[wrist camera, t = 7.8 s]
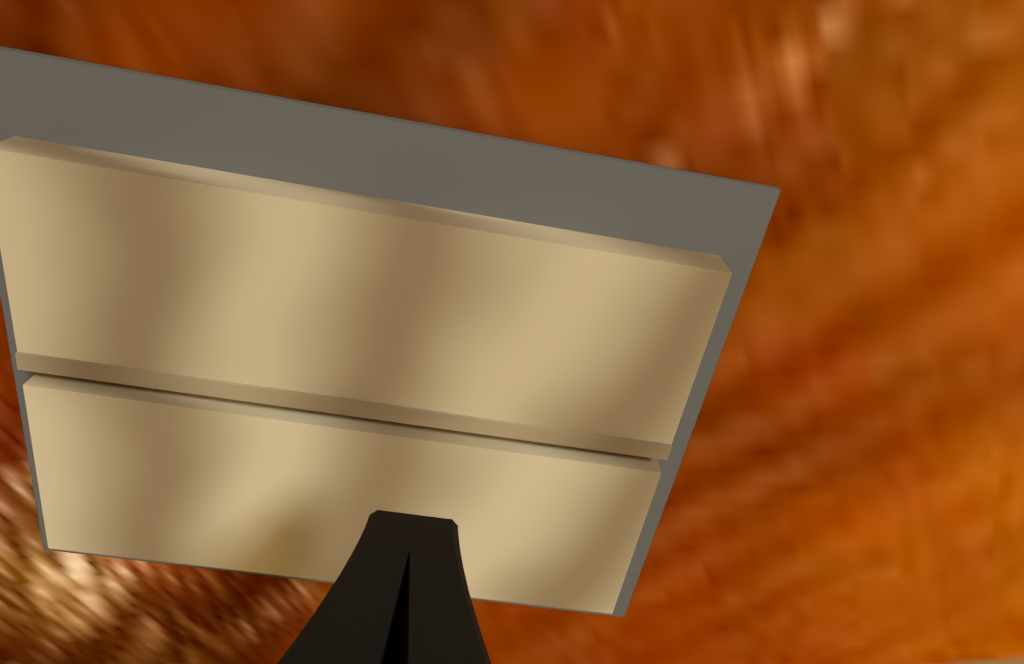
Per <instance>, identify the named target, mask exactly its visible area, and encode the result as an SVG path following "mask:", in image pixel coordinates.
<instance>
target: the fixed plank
mask: <svg viewBox="0 0 1024 664" xmlns="http://www.w3.org/2000/svg"><path fill="white" fill-rule="evenodd" d="M0 250H1V256H2V262H3V268H4V274H5V280H6V286H7V293H8V299H9V305H10V311H11V317H12V323H13V329H14V335H15V341H16V347H17V352H16V353H15V357H16V363H17V369H18V370H24V371H31V372H38V373H46V374H53V375H60V376H67V377H74V378H81V379H89V380H96V381H103V382H110V383H117V384H124V385H132V386H139V387H146V388H153V389H160V390H167V391H175V392H182V393H189V394H196V395H203V396H210V397H218V398H225V399H232V400H239V401H246V402H253V403H261V404H268V405H275V406H282V407H289V408H296V409H304V410H311V411H318V412H325V413H332V414H339V415H347V416H354V417H361V418H368V419H375V420H382V421H390V422H397V423H404V424H411V425H418V426H425V427H433V428H440V429H447V430H454V431H461V432H468V433H476V434H483V435H490V436H497V437H504V438H511V439H519V440H526V441H533V442H540V443H547V444H554V445H562V446H569V447H576V448H583V449H590V450H597V451H605V452H612V453H619V454H626V455H633V456H640V457H648V458H655V459H662V460H668V457H669V454H670V452H671V449H672V442H673V439H674V436H675V433H676V430H677V428H678V425H679V422H680V419H681V416H682V414H683V411H684V408H685V405H686V402H687V399H688V397H689V394H690V391H691V388H692V385H693V383H694V380H695V377H696V374H697V371H698V368H699V366H700V363H701V360H702V357H703V354H704V352H705V349H706V346H707V343H708V340H709V337H710V335H711V332H712V329H713V326H714V323H715V321H716V318H717V315H718V312H719V309H720V306H721V304H722V301H723V298H724V295H725V292H726V290H727V287H728V284H729V281H730V278H731V275H732V272H731V271H730V269H729V268H728V267H727V265H726V264H725V263H724V261H723V260H722V259H721V257H720V256H718V255H712V254H706V253H701V252H695V251H689V250H683V249H677V248H671V247H665V246H659V245H654V244H648V243H642V242H636V241H630V240H624V239H618V238H612V237H607V236H601V235H595V234H589V233H583V232H577V231H571V230H565V229H560V228H554V227H548V226H542V225H536V224H530V223H524V222H518V221H513V220H507V219H501V218H495V217H489V216H483V215H477V214H471V213H466V212H460V211H454V210H448V209H442V208H436V207H430V206H424V205H419V204H413V203H407V202H401V201H395V200H389V199H383V198H377V197H371V196H366V195H360V194H354V193H348V192H342V191H336V190H330V189H324V188H319V187H313V186H307V185H301V184H295V183H289V182H283V181H277V180H272V179H266V178H260V177H254V176H248V175H242V174H236V173H230V172H225V171H219V170H213V169H207V168H201V167H195V166H189V165H183V164H178V163H172V162H166V161H160V160H154V159H148V158H142V157H136V156H131V155H125V154H119V153H113V152H107V151H101V150H95V149H89V148H84V147H78V146H72V145H66V144H60V143H54V142H48V141H42V140H37V139H31V138H25V137H19V136H14V137H11V138H8V139H6V140H3V141H0Z"/></svg>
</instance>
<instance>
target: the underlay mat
mask: <svg viewBox="0 0 1024 664" xmlns="http://www.w3.org/2000/svg"><path fill="white" fill-rule="evenodd" d="M14 136H19V137H25V138H31V139H37V140H42V141H48V142H54V143H60V144H66V145H72V146H78V147H84V148H89V149H95V150H101V151H107V152H113V153H119V154H125V155H131V156H136V157H142V158H148V159H154V160H160V161H166V162H172V163H178V164H183V165H189V166H195V167H201V168H207V169H213V170H219V171H225V172H230V173H236V174H242V175H248V176H254V177H260V178H266V179H272V180H277V181H283V182H289V183H295V184H301V185H307V186H313V187H319V188H324V189H330V190H336V191H342V192H348V193H354V194H360V195H366V196H371V197H377V198H383V199H389V200H395V201H401V202H407V203H413V204H419V205H424V206H430V207H436V208H442V209H448V210H454V211H460V212H466V213H471V214H477V215H483V216H489V217H495V218H501V219H507V220H513V221H518V222H524V223H530V224H536V225H542V226H548V227H554V228H560V229H565V230H571V231H577V232H583V233H589V234H595V235H601V236H607V237H612V238H618V239H624V240H630V241H636V242H642V243H648V244H654V245H659V246H665V247H671V248H677V249H683V250H689V251H695V252H701V253H706V254H712V255H718V256H720V257H721V259H722V260H723V261H724V263H725V264H726V265H727V267H728V268H729V269H730V271H731V272H732V275H731V278H730V281H729V284H728V287H727V290H726V292H725V295H724V298H723V301H722V304H721V306H720V309H719V312H718V315H717V318H716V321H715V323H714V326H713V329H712V332H711V335H710V337H709V340H708V343H707V346H706V349H705V352H704V354H703V357H702V360H701V363H700V366H699V368H698V371H697V374H696V377H695V380H694V383H693V385H692V388H691V391H690V394H689V397H688V399H687V402H686V405H685V408H684V411H683V414H682V416H681V419H680V422H679V425H678V428H677V430H676V433H675V436H674V439H673V442H672V449H671V452H670V454H669V457H668V460H662V459H657V460H658V464H659V467H660V470H661V476H660V479H659V481H658V484H657V487H656V490H655V493H654V496H653V499H652V501H651V504H650V507H649V510H648V513H647V516H646V519H645V522H644V524H643V527H642V530H641V533H640V536H639V539H638V542H637V544H636V547H635V550H634V553H633V556H632V559H631V562H630V565H629V567H628V570H627V573H626V576H625V579H624V582H623V585H622V587H621V590H620V593H619V596H618V599H617V602H616V605H615V607H614V610H613V613H612V614H608V613H599V612H591V611H582V610H574V609H565V608H556V607H548V606H539V605H531V604H522V603H514V602H505V601H496V600H488V599H479V598H471V599H474V600H483V601H491V602H500V603H508V604H517V605H526V606H534V607H543V608H551V609H560V610H569V611H577V612H586V613H594V614H603V615H612V616H620V617H624V615H625V613H626V610H627V607H628V605H629V602H630V599H631V596H632V594H633V591H634V588H635V586H636V583H637V580H638V577H639V575H640V572H641V569H642V566H643V564H644V561H645V558H646V556H647V553H648V550H649V547H650V545H651V542H652V539H653V537H654V534H655V531H656V528H657V526H658V523H659V520H660V518H661V515H662V512H663V509H664V507H665V504H666V501H667V498H668V496H669V493H670V490H671V488H672V485H673V482H674V479H675V477H676V474H677V471H678V469H679V466H680V463H681V460H682V458H683V455H684V452H685V450H686V447H687V444H688V441H689V439H690V436H691V433H692V430H693V428H694V425H695V422H696V420H697V417H698V414H699V411H700V409H701V406H702V403H703V401H704V398H705V395H706V392H707V390H708V387H709V384H710V382H711V379H712V376H713V373H714V371H715V368H716V365H717V363H718V360H719V357H720V354H721V352H722V349H723V346H724V343H725V341H726V338H727V335H728V333H729V330H730V327H731V324H732V322H733V319H734V316H735V314H736V311H737V308H738V305H739V303H740V300H741V297H742V295H743V292H744V289H745V286H746V284H747V281H748V278H749V275H750V273H751V270H752V267H753V265H754V262H755V259H756V256H757V254H758V251H759V248H760V246H761V243H762V240H763V237H764V235H765V232H766V229H767V227H768V224H769V221H770V218H771V216H772V213H773V210H774V207H775V205H776V202H777V199H778V197H779V194H780V191H781V190H780V189H778V188H777V187H773V186H768V185H762V184H757V183H751V182H746V181H740V180H735V179H729V178H724V177H718V176H713V175H707V174H702V173H696V172H691V171H685V170H680V169H674V168H669V167H663V166H658V165H652V164H646V163H641V162H635V161H630V160H624V159H619V158H613V157H608V156H602V155H597V154H591V153H586V152H580V151H575V150H569V149H564V148H558V147H553V146H547V145H542V144H536V143H531V142H525V141H520V140H514V139H509V138H503V137H498V136H492V135H487V134H481V133H476V132H470V131H465V130H459V129H454V128H448V127H443V126H437V125H432V124H426V123H421V122H415V121H410V120H404V119H399V118H393V117H388V116H382V115H377V114H371V113H366V112H360V111H355V110H349V109H344V108H338V107H333V106H327V105H322V104H316V103H311V102H305V101H300V100H294V99H289V98H283V97H278V96H272V95H266V94H261V93H255V92H250V91H244V90H239V89H233V88H228V87H222V86H217V85H211V84H206V83H200V82H195V81H189V80H184V79H178V78H173V77H167V76H162V75H156V74H151V73H145V72H140V71H134V70H129V69H123V68H118V67H112V66H107V65H101V64H96V63H90V62H85V61H79V60H74V59H68V58H63V57H57V56H52V55H46V54H41V53H35V52H30V51H24V50H19V49H13V48H8V47H2V46H0V141H3V140H6V139H8V138H11V137H14ZM0 295H1V301H2V307H3V313H4V318H5V324H6V330H7V336H8V342H9V348H10V354H11V359H12V365H13V371H14V377H15V383H16V389H17V395H18V401H19V406H20V412H21V418H22V424H23V430H24V436H25V442H26V448H27V453H28V459H29V465H30V471H31V477H32V483H33V489H34V495H35V500H36V506H37V512H38V518H39V524H40V530H41V536H42V541H43V547H44V550H53V551H61V552H70V553H79V554H87V555H96V556H104V557H113V558H122V559H130V560H139V561H147V562H156V563H165V564H173V565H182V566H190V567H199V568H207V569H216V570H225V571H233V572H242V573H250V574H259V575H268V576H276V577H285V578H293V579H302V580H311V581H319V582H328V583H335V582H333V581H325V580H316V579H308V578H299V577H290V576H282V575H273V574H265V573H256V572H248V571H239V570H230V569H222V568H213V567H205V566H196V565H188V564H179V563H170V562H162V561H153V560H145V559H136V558H127V557H119V556H110V555H102V554H93V553H85V552H76V551H67V550H59V549H50V548H48V544H47V537H46V531H45V524H44V518H43V512H42V505H41V499H40V492H39V486H38V480H37V473H36V467H35V460H34V454H33V448H32V441H31V435H30V428H29V422H28V416H27V409H26V403H25V397H24V390H23V384H24V383H25V382H27V381H28V380H29V379H30V378H31V377H32V376H34V375H35V374H36V373H37V372H31V371H24V370H18V369H17V363H16V357H15V353H16V352H17V347H16V341H15V335H14V329H13V323H12V317H11V311H10V305H9V299H8V293H7V286H6V280H5V274H4V268H3V262H2V256H1V250H0Z"/></svg>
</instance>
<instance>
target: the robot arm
mask: <svg viewBox="0 0 1024 664" xmlns="http://www.w3.org/2000/svg"><path fill="white" fill-rule="evenodd" d="M278 664H491V662H490V659H489V656H488V653H487V650H486V647H485V644H484V641H483V638H482V635H481V631H480V628H479V625H478V622H477V618H476V615H475V612H474V608H473V605H472V601H471V597H470V594H469V590H468V585H467V581H466V577H465V572H464V568H463V563H462V557H461V551H460V544H459V536H458V525H457V524H456V523H455V522H454V521H453V519H446V518H438V517H430V516H422V515H414V514H406V513H399V512H391V511H383V510H377V511H375V512H373V513H371V514H370V515H369V518H368V521H367V523H366V526H365V528H364V530H363V533H362V535H361V537H360V539H359V541H358V543H357V545H356V547H355V549H354V550H353V552H352V554H351V556H350V558H349V559H348V561H347V563H346V565H345V566H344V568H343V570H342V571H341V573H340V575H339V576H338V578H337V580H336V581H335V583H334V584H333V586H332V587H331V589H330V590H329V592H328V593H327V595H326V597H325V598H324V600H323V601H322V603H321V604H320V606H319V607H318V609H317V610H316V612H315V613H314V615H313V616H312V618H311V619H310V621H309V622H308V623H307V625H306V626H305V627H304V629H303V630H302V631H301V633H300V634H299V635H298V637H297V638H296V639H295V641H294V642H293V644H292V645H291V646H290V648H289V649H288V650H287V652H286V653H285V654H284V656H283V657H282V658H281V660H280V661H279V662H278Z"/></svg>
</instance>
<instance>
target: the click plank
mask: <svg viewBox="0 0 1024 664" xmlns="http://www.w3.org/2000/svg"><path fill="white" fill-rule="evenodd" d="M23 390H24V397H25V403H26V409H27V416H28V422H29V428H30V435H31V441H32V448H33V454H34V460H35V467H36V473H37V480H38V486H39V492H40V499H41V505H42V512H43V518H44V524H45V531H46V537H47V544H48V548H50V549H59V550H67V551H76V552H85V553H93V554H102V555H110V556H119V557H127V558H136V559H145V560H153V561H162V562H170V563H179V564H188V565H196V566H205V567H213V568H222V569H230V570H239V571H248V572H256V573H265V574H273V575H282V576H290V577H299V578H308V579H316V580H325V581H333V582H335V581H336V580H337V578H338V576H339V575H340V573H341V571H342V570H343V568H344V566H345V565H346V563H347V561H348V559H349V558H350V556H351V554H352V552H353V550H354V549H355V547H356V545H357V543H358V541H359V539H360V537H361V535H362V533H363V530H364V528H365V526H366V523H367V521H368V518H369V515H370V514H371V513H373V512H375V511H377V510H383V511H391V512H399V513H406V514H414V515H422V516H430V517H438V518H446V519H453V521H454V522H455V523H456V524H457V525H458V536H459V544H460V551H461V557H462V563H463V568H464V572H465V577H466V581H467V585H468V590H469V594H470V597H471V598H479V599H488V600H496V601H505V602H514V603H522V604H531V605H539V606H548V607H556V608H565V609H574V610H582V611H591V612H599V613H608V614H612V613H613V610H614V607H615V605H616V602H617V599H618V596H619V593H620V590H621V587H622V585H623V582H624V579H625V576H626V573H627V570H628V567H629V565H630V562H631V559H632V556H633V553H634V550H635V547H636V544H637V542H638V539H639V536H640V533H641V530H642V527H643V524H644V522H645V519H646V516H647V513H648V510H649V507H650V504H651V501H652V499H653V496H654V493H655V490H656V487H657V484H658V481H659V479H660V476H661V470H660V467H659V464H658V460H657V459H655V458H648V457H640V456H633V455H626V454H619V453H612V452H605V451H597V450H590V449H583V448H576V447H569V446H562V445H554V444H547V443H540V442H533V441H526V440H519V439H511V438H504V437H497V436H490V435H483V434H476V433H468V432H461V431H454V430H447V429H440V428H433V427H425V426H418V425H411V424H404V423H397V422H390V421H382V420H375V419H368V418H361V417H354V416H347V415H339V414H332V413H325V412H318V411H311V410H304V409H296V408H289V407H282V406H275V405H268V404H261V403H253V402H246V401H239V400H232V399H225V398H218V397H210V396H203V395H196V394H189V393H182V392H175V391H167V390H160V389H153V388H146V387H139V386H132V385H124V384H117V383H110V382H103V381H96V380H89V379H81V378H74V377H67V376H60V375H53V374H46V373H38V372H37V373H36V374H35V375H34V376H32V377H31V378H30V379H29V380H28V381H27V382H25V383H24V384H23Z"/></svg>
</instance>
